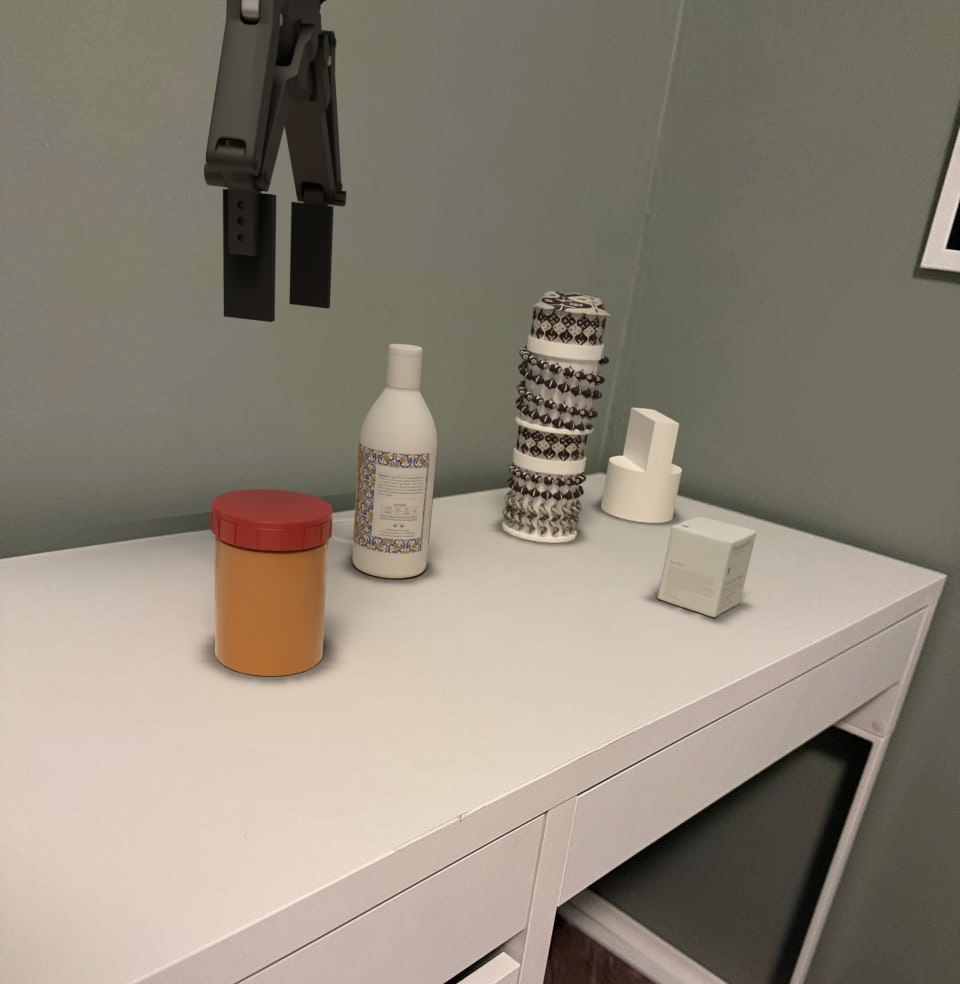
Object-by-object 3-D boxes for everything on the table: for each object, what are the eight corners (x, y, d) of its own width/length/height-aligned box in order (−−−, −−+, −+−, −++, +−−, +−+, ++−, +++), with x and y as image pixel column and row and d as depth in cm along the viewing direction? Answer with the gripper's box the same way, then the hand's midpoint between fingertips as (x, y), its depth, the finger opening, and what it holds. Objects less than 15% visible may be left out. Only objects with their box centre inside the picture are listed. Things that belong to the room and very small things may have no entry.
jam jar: (192, 650, 66) (190, 506, 62) (273, 623, 72) (276, 491, 67) (265, 687, 62) (268, 536, 58) (344, 655, 68) (352, 517, 64)
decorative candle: (517, 513, 109) (547, 287, 99) (591, 530, 105) (629, 299, 95) (484, 530, 101) (512, 287, 91) (562, 549, 97) (601, 299, 88)
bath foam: (370, 550, 90) (384, 337, 82) (436, 564, 89) (457, 349, 81) (339, 570, 84) (351, 342, 76) (409, 585, 83) (429, 355, 75)
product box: (714, 619, 83) (732, 542, 80) (654, 599, 87) (669, 524, 84) (740, 604, 88) (758, 530, 85) (683, 585, 91) (698, 514, 88)
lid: (186, 526, 62) (185, 499, 61) (276, 508, 68) (276, 483, 68) (267, 559, 58) (268, 530, 57) (355, 537, 64) (357, 510, 63)
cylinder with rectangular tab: (591, 499, 118) (607, 405, 114) (657, 503, 120) (675, 411, 115) (613, 520, 110) (631, 419, 106) (683, 524, 112) (704, 426, 107)
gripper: (285, -41, 62) (279, 296, 70) (121, -214, 39) (142, 317, 47) (396, -29, 61) (377, 307, 70) (297, -197, 38) (287, 334, 47)
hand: (282, 312), depth 58 cm, fingers open, 13 cm apart
